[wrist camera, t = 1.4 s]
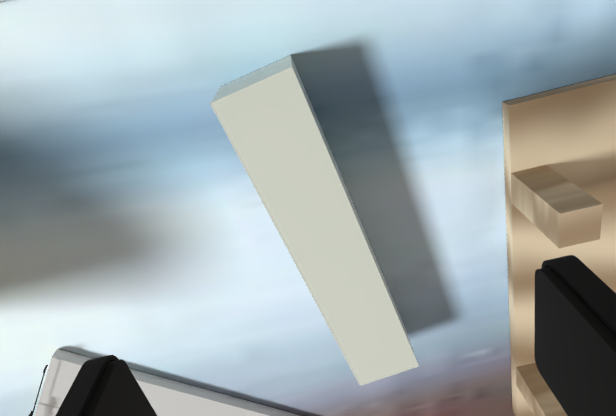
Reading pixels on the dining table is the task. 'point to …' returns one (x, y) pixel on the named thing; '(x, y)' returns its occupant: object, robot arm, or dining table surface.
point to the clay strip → (314, 215)
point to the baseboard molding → (148, 393)
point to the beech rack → (556, 208)
